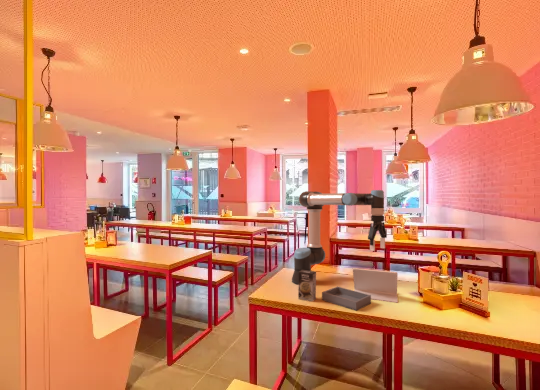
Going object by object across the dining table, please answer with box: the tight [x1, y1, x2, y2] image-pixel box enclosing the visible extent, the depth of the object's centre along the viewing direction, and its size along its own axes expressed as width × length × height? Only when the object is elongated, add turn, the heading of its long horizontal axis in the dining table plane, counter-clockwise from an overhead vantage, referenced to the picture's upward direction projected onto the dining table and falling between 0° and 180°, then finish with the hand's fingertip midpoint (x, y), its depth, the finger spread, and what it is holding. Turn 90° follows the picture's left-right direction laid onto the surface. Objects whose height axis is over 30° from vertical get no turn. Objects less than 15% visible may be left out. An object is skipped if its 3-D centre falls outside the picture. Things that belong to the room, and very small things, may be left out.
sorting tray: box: [321, 286, 372, 312], centre depth 160 cm, size 22×16×4 cm
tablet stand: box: [352, 267, 399, 304], centre depth 171 cm, size 18×25×17 cm
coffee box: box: [297, 270, 317, 302], centre depth 164 cm, size 9×6×16 cm
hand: (377, 249), depth 171 cm, fingers open, 13 cm apart
